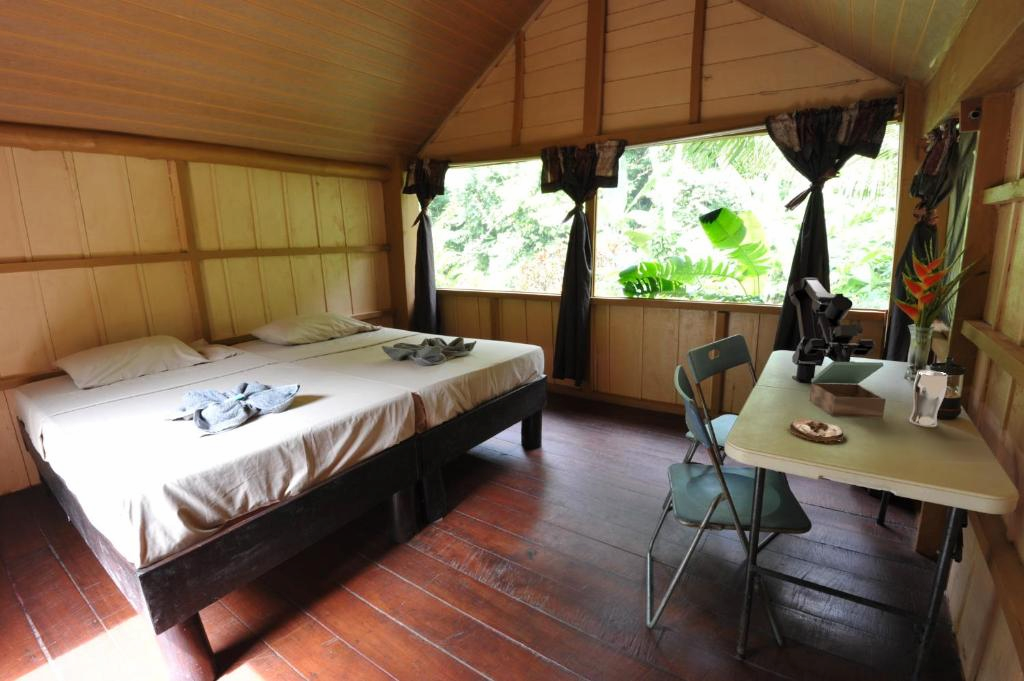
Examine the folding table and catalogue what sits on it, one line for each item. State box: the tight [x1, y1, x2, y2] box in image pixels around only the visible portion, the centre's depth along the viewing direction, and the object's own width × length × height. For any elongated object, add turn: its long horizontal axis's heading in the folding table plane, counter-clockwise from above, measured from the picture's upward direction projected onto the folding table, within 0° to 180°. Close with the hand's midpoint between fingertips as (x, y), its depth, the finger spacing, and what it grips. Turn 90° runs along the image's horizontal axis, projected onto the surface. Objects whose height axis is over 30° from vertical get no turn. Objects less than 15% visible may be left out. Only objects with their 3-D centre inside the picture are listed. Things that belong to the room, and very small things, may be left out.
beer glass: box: [909, 369, 948, 428], centre depth 139 cm, size 7×7×15 cm
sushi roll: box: [789, 417, 844, 443], centre depth 134 cm, size 15×15×4 cm
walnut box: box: [808, 382, 887, 419], centre depth 151 cm, size 14×14×6 cm
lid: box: [810, 360, 884, 385], centre depth 152 cm, size 14×14×2 cm
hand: (846, 370), depth 151 cm, fingers closed, pressing on lid
